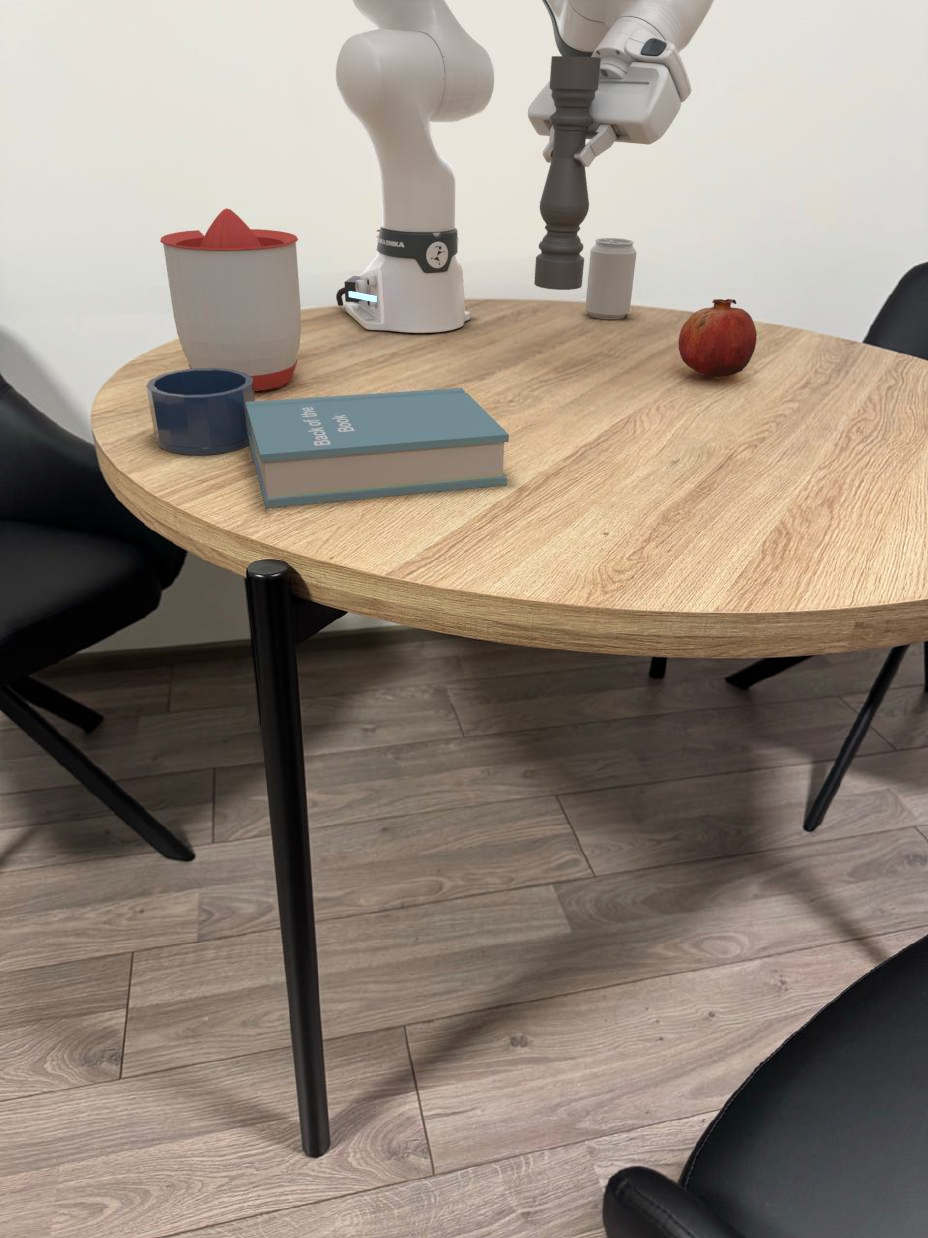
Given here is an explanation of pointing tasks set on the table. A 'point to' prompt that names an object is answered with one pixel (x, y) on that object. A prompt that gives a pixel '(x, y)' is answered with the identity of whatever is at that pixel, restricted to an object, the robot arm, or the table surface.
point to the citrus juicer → (236, 299)
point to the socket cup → (200, 410)
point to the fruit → (718, 340)
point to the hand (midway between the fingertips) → (564, 160)
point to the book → (373, 446)
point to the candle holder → (566, 173)
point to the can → (610, 278)
